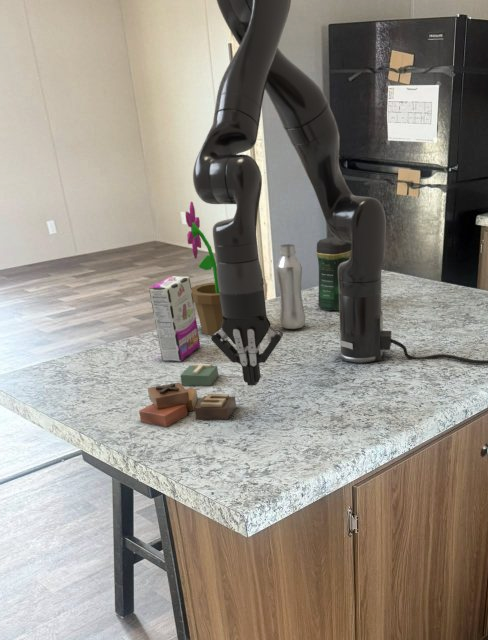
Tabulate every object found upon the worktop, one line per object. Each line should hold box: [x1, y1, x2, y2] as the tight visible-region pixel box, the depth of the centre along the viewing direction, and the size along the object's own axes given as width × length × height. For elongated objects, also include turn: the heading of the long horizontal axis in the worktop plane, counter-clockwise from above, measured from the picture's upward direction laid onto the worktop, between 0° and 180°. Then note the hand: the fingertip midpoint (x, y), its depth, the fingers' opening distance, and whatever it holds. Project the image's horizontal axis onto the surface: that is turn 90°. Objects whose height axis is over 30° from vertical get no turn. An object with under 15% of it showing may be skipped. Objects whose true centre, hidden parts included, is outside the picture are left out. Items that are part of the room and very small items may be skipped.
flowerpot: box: [185, 201, 223, 336], centre depth 171 cm, size 14×14×30 cm
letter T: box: [180, 363, 219, 387], centre depth 146 cm, size 6×6×3 cm
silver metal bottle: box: [275, 243, 306, 330], centre depth 173 cm, size 6×7×20 cm
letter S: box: [194, 393, 237, 421], centre depth 130 cm, size 6×6×3 cm
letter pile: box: [138, 381, 198, 428], centre depth 130 cm, size 8×14×5 cm, turn 174°
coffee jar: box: [316, 236, 352, 312], centre depth 191 cm, size 10×8×19 cm
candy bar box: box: [148, 275, 201, 363], centre depth 158 cm, size 11×5×16 cm, turn 168°
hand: (253, 383), depth 127 cm, fingers closed
